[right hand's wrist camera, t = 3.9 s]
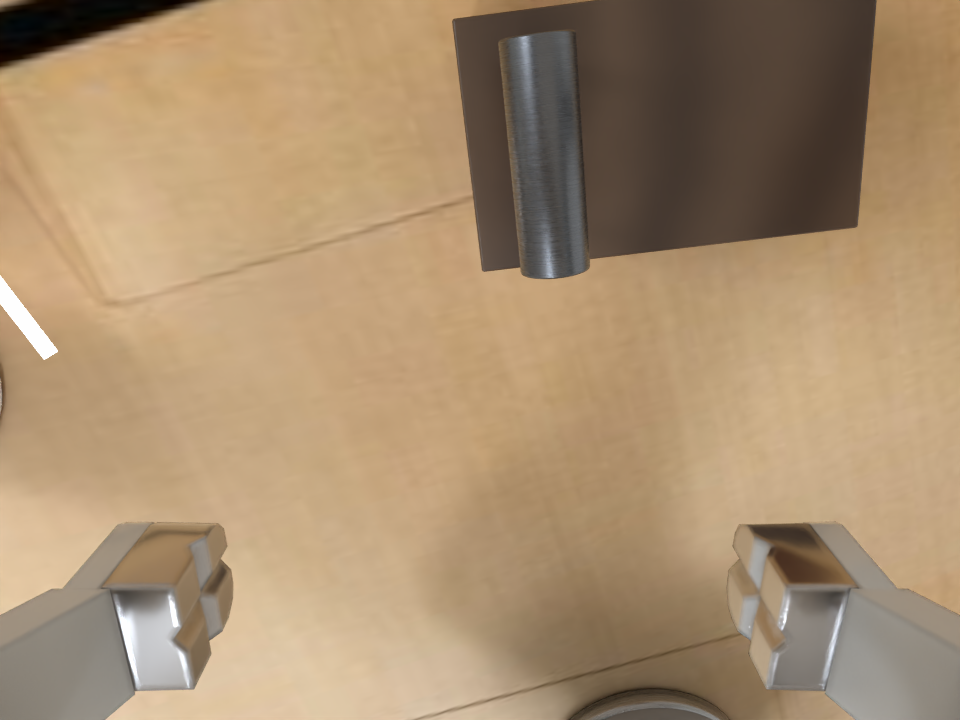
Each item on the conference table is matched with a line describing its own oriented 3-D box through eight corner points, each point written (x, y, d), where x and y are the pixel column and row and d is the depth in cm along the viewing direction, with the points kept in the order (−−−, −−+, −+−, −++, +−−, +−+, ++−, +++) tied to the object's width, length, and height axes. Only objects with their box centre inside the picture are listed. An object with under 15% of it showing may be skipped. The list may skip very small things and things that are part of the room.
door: (481, 266, 29) (485, 330, 21) (452, 22, 25) (443, -14, 17) (844, 223, 28) (990, 271, 20) (864, -33, 25) (1048, -94, 17)
